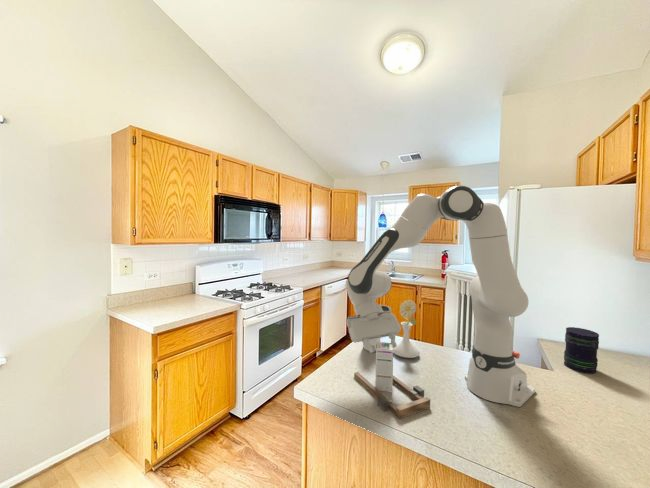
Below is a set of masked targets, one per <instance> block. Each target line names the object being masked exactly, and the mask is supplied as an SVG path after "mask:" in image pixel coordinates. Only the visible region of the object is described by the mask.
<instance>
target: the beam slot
mask: <svg viewBox="0 0 650 488" xmlns="http://www.w3.org/2000/svg"><path fill="white" fill-rule="evenodd" d="M354 378H355V379H356V380H357V381H358V382H359V383H361V385H363V387H365V388H366V390H368V391H369V392H370V393H371V394H372V395H373V396H374V397H375V398H376V399H377V406H378V408H380V409H381V410H382V411H383V412H386V411H388V410H389V411H390V412H391V413H392V414H393V415H394V416H396V417H397V418H398V419H399V420H401V419H403V418H405V417H408V416H411V415H414V414H416V413H418V412H419V413H420V412H422V411H424V410H427V409H430V408H431V398H429V397H427V396H426V397H425V389H424V388H422V387H420V386H419V385H414V386H412V388H413V389H412V388H411V387H410V386H409V385H407V384H405V383H404V382H403V381H401V380H400V379H399V378H398V377H396V376H395V375H393V385H395V386H396V387H398V388H399V389H400V390H401V391H403V392H404V393H405V394H407V395H408V396H409V397H411V398H412V399H413V400H414V401H410V402H407V403H405V404H402V405H398V406H397V405H396V404H395V403H394V402H393V401H392V400H391V399H390V398H389V397H387V396H386V395H385V394H384V393H382V391H380V390H378V389H377V388H375V386H374V384H372V383H371V382H370V381H368V379H367V378H366V377H365V376H363V374H361V373H360V372H358V371H356V372H354Z"/></svg>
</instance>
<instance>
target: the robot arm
mask: <svg viewBox="0 0 650 488" xmlns="http://www.w3.org/2000/svg"><path fill="white" fill-rule="evenodd" d="M439 219H443V220H446V221H463V223H464V224H465V225H466V227H467V231H468V240H469V247H470V255H471V261H472V263H473V266H474V268H475V270H476V274H477V275H476V276H475V277H473V278H472V279H471V281H470V282H469V287H468V288H469V292H470V295H471V296H470V297H471V304H472V305H471V306H472V312H473V320H474V333H473V334H474V335H473V336H474V339H473V345H472V348H471V357H470V358H469V364H468V370H467V373H465V374H464V379H465V381H466V387H467V388H468V390H469V391H471V393H473V394H475V395H476V396H477V397H480V398H481V399H484V400H486V401H490V402H493V403H497V404H506V405H510V406H513V407H518V408H519V407H522V406H523V405H524V404H525V403H526V402H527V401H528V400H529V399H530V398H531V397H532V396H533V395H534V394H535V393H536V388H534V386H532V385H531V384H530V383H528V379H527V378H528V376H527V375H528V374H527V373H526V371H524V369H523V368H521V367H520V366H519V365H518V364H517V363H516V359H517V360H518V359H519V358H521V354H520V352H518V351H515V350H513V349H514V348H513V346H514V345H513V344H514V329H513V326H512V324H511V321H510V318H515V317H519V316H521V315H523V314H524V313H525V312H526V310H527V309H528V307H529V297H528V295H527V293H526V291H525V290H524V289H523V288H522V285H521V283H520V280H519V278H518V275H517V272H516V269H515V266H514V264H513V261H512V258H511V257H512V256H511V250H510V245H509V236H508V229H507V225H506V220H505V218H504V214H503V212H502V209H501V207H500V206H498V205H497V204H495V203H491V202H484V201H483V200H482V198H480V197H479V196H478V195H477V193H476V192H475V191H474V190H473V189H472V188H471V187H468V186H465V185H456V186H451V187H449V188H448V189H447V190H445V191H444V192H443V193H442V194H440V196H438V197H437V196H436V197H435V196H432V195H430V194H427V193H420V194H417V195H416V196H415V197H414V198H413V199H412V200H411V202H410V203H409V204H408V205H407V206H406V208H405V209H404V210H403V212H402V213H401V215H400V216H399V218H398V219H397V220H396V221H395V223H394V224H393V225H392V226H391V227H390V228H389V229H387V230H385V231H384V232H383V233H382V234H381V235H380V236H379V237H378V239H377V240H376V241H375V242H374V244H373V245H372V246H371V248H370V249H369V250H368V252H367V253H366V254H365V256H363V258H362V259H361V260H360V261H359V262H358V263H357V264H355V266H353V267H352V269H351V270H350V272H349V274H348V278H347V280H346V282H345V288H346V292H347V296H348V297H349V301H350V302H351V304H352V305H353V310H354V314H355V315H349V316H348V317H346V319H345V324H346V325H347V328H348V333H349V337H350V339H351V341H352V342H353V344H354V343H361V342H362V345H363V344H364V345H365V346H366V347H367V348H368V349H369V351H368V352H369V353H371V354H372V353H376V349H375V347H374V346H372V345H371V344H370V343H369V342H368V341H369V340H372V339H377V338H380V339H382V338H385V337H387V338H388V339H389V340H390V343H391V344H392V346H393V348H395V347H396V346H397V345H396V344H397V342H396V336H397V335H398V334H399V333H400V332H402V331H401V330H402V325H401V323H399V320H398V319H397V316H396V315H395V314H394V313H392V309H391V308H392V307H390V306H388V305H383V304H379V303H377V301H376V300H378V299H380V298H381V297H383V296H386V295H387V294H388V293H389V292H390V291H391V288H392V279H391V276H390V274H388V273H387V272H385V271H381V270H378V269H379V267H380V266H381V265H382V263H383V262H384V261H385V260H386V258H387V257H388V256H389V255H390V254H391V253H393V252H395V251H397V250H400V249H407V248H408V249H409V248H413V247H415V246H418V245H419V244H420V243H421V242H422V241H423V240H424V238H425V237H426V235H427V234H428V232H429V231H430V229H431V228H432V226H433V225H434V224H435V222H436V221H437V220H439Z"/></svg>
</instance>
